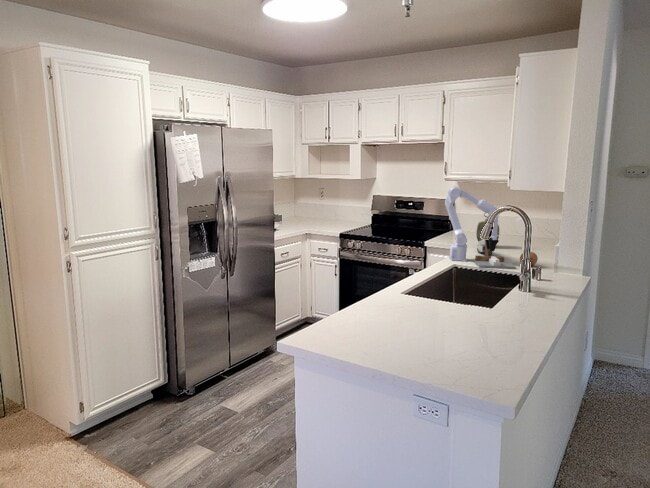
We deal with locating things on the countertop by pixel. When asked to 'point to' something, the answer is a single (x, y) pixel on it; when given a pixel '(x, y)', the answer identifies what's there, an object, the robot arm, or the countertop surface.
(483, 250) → the gun
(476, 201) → the robot arm
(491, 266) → the stand
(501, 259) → the bar
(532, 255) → the onion
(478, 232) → the tabletop clock
